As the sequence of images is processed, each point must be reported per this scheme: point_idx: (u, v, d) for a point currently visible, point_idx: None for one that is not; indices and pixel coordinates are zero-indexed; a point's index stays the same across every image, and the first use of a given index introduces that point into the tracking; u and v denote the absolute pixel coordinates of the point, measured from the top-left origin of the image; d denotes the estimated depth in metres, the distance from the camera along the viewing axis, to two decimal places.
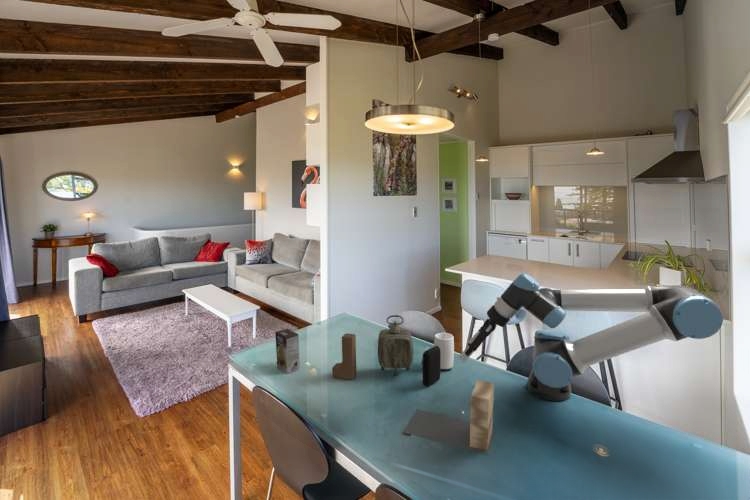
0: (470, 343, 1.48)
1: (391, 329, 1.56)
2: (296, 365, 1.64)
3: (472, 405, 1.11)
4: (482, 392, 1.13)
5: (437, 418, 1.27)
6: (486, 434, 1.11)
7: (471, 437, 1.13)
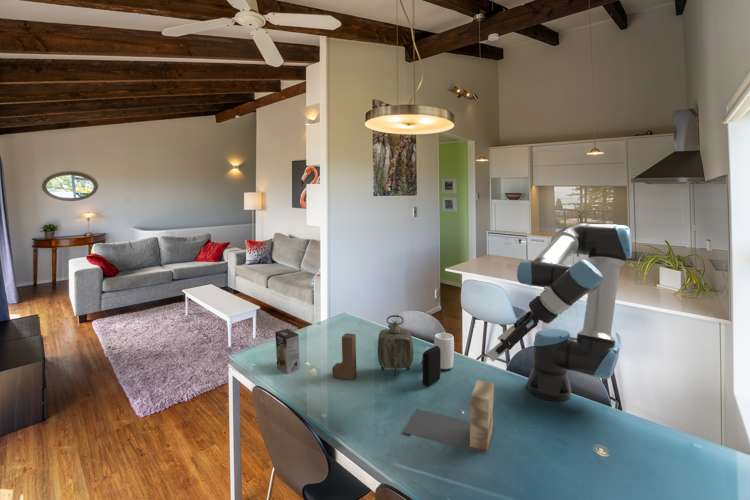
0: (502, 338, 1.22)
1: (391, 329, 1.56)
2: (297, 365, 1.64)
3: (472, 405, 1.11)
4: (482, 392, 1.13)
5: (437, 418, 1.27)
6: (486, 434, 1.11)
7: (471, 437, 1.13)
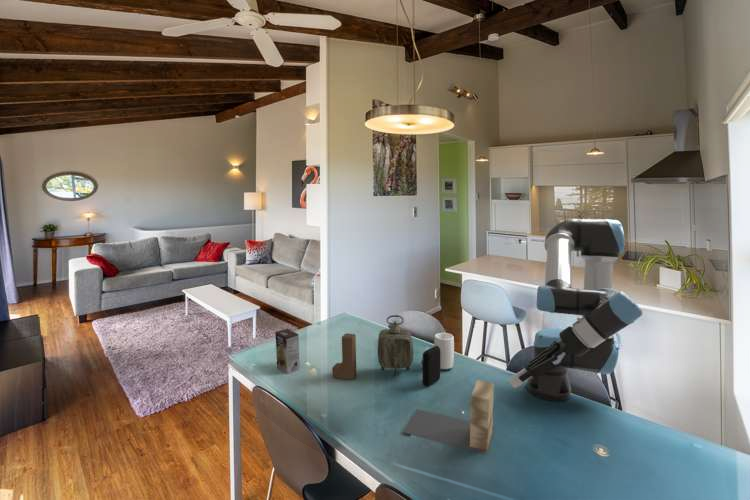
0: None
1: (391, 329, 1.56)
2: (297, 365, 1.64)
3: (472, 405, 1.11)
4: (482, 392, 1.13)
5: (437, 418, 1.27)
6: (486, 434, 1.11)
7: (471, 437, 1.13)
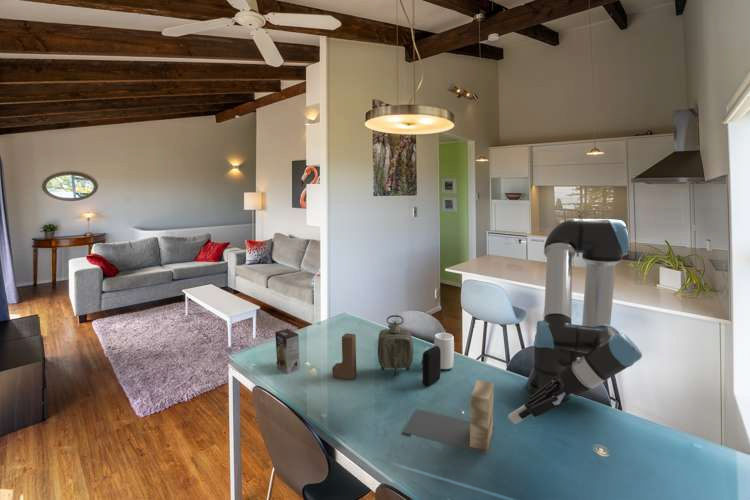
0: None
1: (391, 329, 1.56)
2: (296, 365, 1.64)
3: (472, 405, 1.11)
4: (482, 392, 1.13)
5: (437, 418, 1.27)
6: (486, 434, 1.11)
7: (471, 437, 1.13)
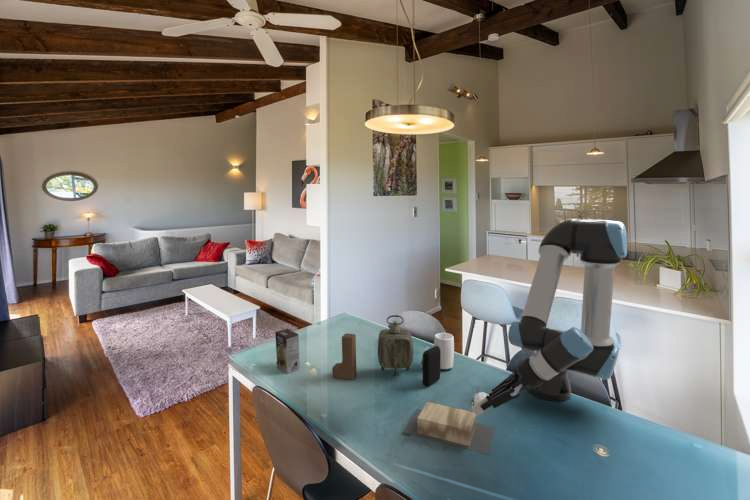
0: None
1: (391, 329, 1.56)
2: (296, 365, 1.64)
3: (426, 433, 1.19)
4: None
5: None
6: (452, 427, 1.15)
7: (459, 442, 1.14)
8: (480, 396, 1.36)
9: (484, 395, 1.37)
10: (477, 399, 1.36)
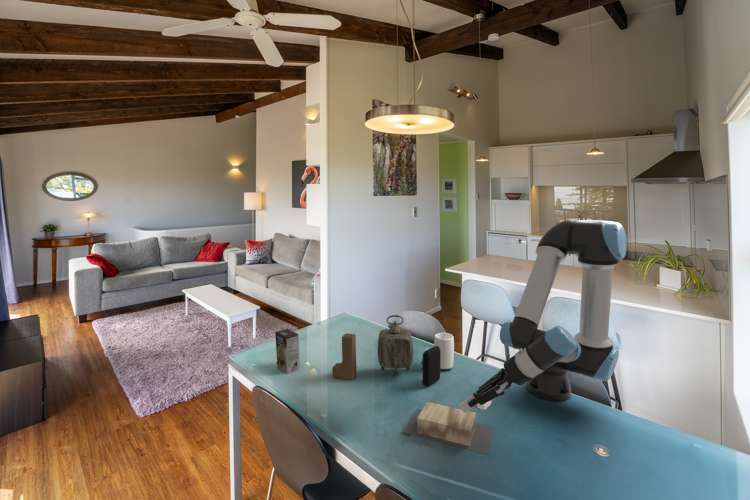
0: None
1: (391, 329, 1.56)
2: (297, 365, 1.64)
3: (426, 433, 1.19)
4: None
5: None
6: (452, 427, 1.15)
7: (459, 442, 1.14)
8: None
9: None
10: None
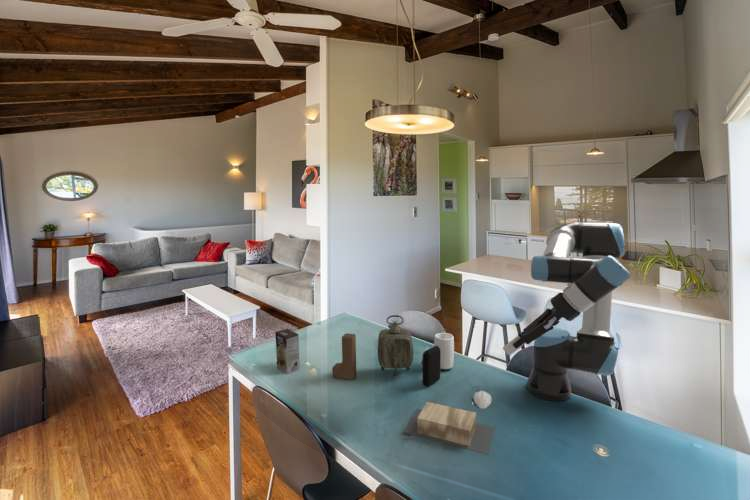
0: None
1: (391, 329, 1.56)
2: (296, 365, 1.64)
3: (426, 433, 1.19)
4: None
5: None
6: (452, 427, 1.15)
7: (459, 442, 1.14)
8: (480, 395, 1.37)
9: (484, 394, 1.38)
10: (477, 398, 1.36)
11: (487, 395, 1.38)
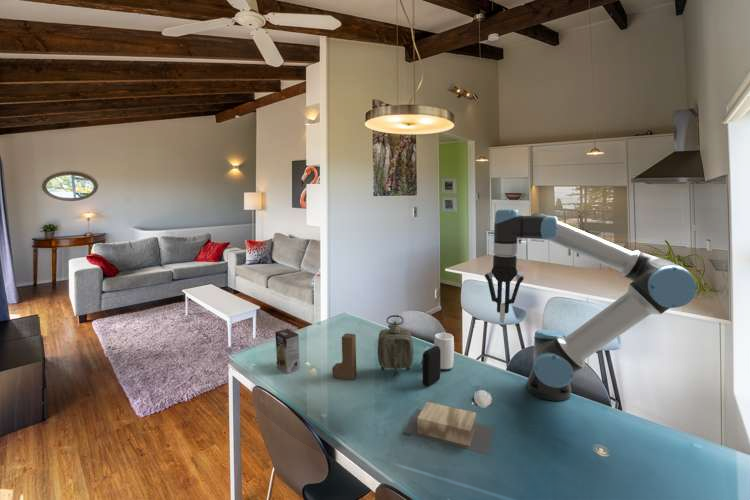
0: None
1: (391, 329, 1.56)
2: (297, 365, 1.64)
3: (426, 433, 1.19)
4: None
5: None
6: (452, 427, 1.15)
7: (459, 442, 1.14)
8: (480, 394, 1.38)
9: (484, 393, 1.38)
10: (477, 397, 1.37)
11: (487, 394, 1.38)
